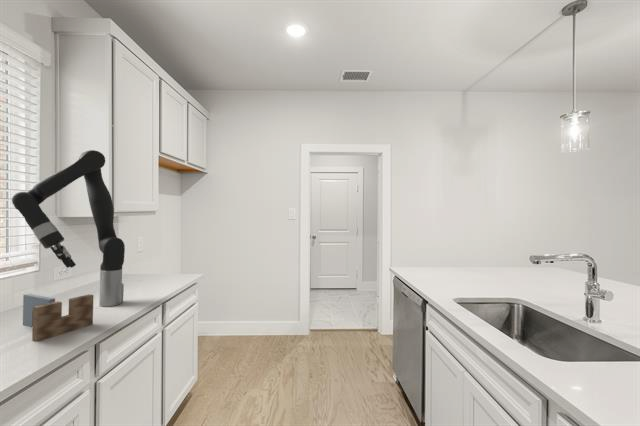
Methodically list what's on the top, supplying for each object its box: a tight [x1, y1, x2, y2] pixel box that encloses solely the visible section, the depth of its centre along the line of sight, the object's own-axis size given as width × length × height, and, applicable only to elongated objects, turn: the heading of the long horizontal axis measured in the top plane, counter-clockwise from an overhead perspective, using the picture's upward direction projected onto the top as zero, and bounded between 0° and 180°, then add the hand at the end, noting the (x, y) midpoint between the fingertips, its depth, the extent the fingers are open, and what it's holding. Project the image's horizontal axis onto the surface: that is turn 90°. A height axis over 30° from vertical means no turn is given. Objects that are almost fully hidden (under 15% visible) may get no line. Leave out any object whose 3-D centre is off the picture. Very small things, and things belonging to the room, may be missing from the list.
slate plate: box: [22, 293, 56, 328], centre depth 131 cm, size 2×16×12 cm, turn 69°
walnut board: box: [31, 293, 95, 342], centre depth 127 cm, size 20×2×12 cm, turn 159°
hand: (71, 266), depth 144 cm, fingers open, 8 cm apart
